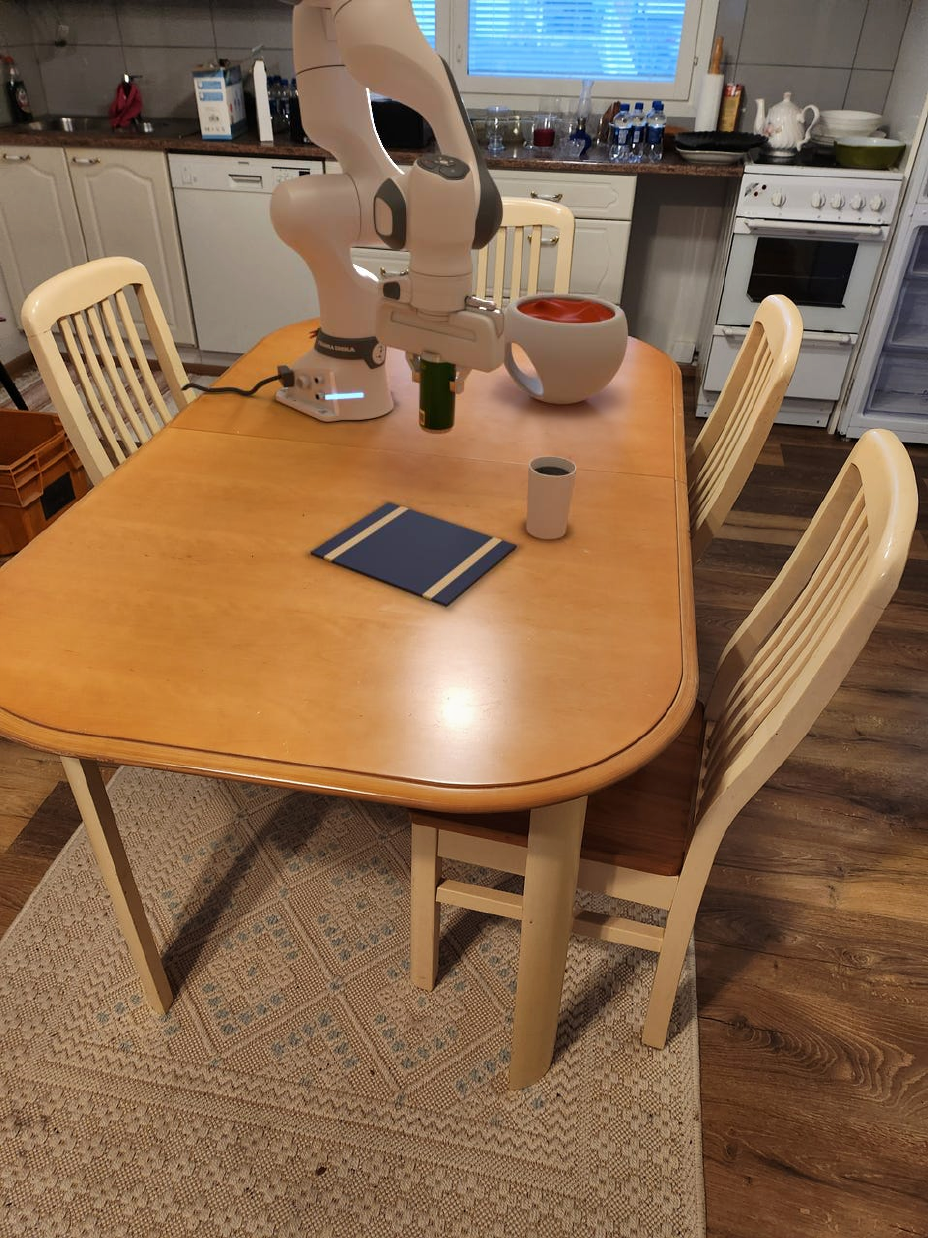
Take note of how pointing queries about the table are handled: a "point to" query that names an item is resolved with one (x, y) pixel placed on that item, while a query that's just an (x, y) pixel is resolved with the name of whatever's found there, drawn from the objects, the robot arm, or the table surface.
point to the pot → (565, 344)
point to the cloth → (415, 552)
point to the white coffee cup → (549, 496)
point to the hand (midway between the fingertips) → (437, 386)
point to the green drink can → (436, 394)
